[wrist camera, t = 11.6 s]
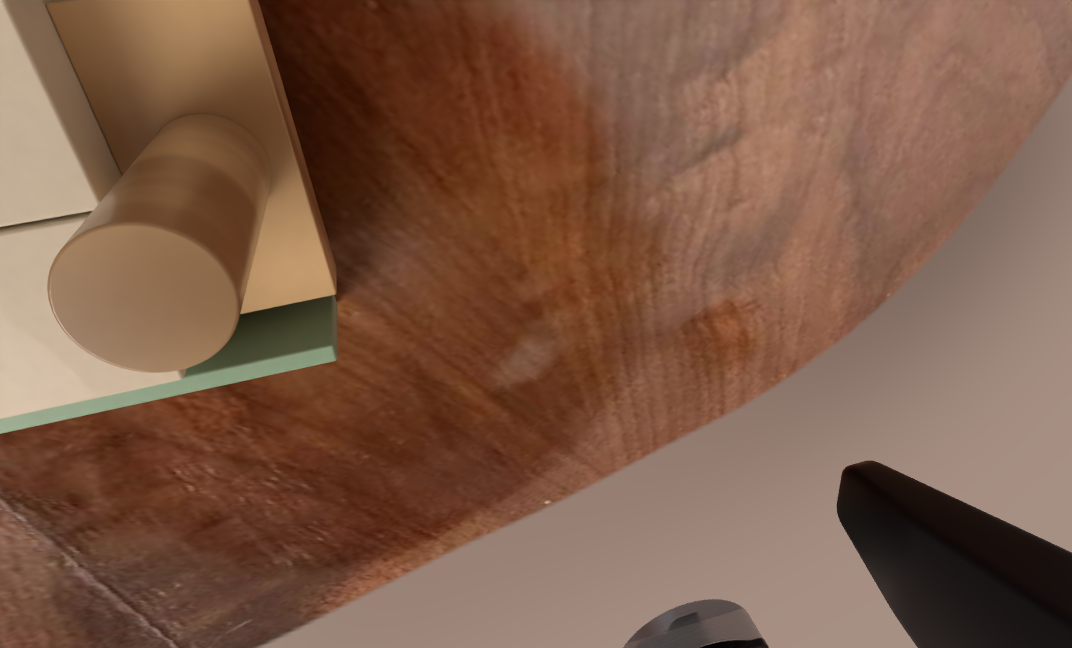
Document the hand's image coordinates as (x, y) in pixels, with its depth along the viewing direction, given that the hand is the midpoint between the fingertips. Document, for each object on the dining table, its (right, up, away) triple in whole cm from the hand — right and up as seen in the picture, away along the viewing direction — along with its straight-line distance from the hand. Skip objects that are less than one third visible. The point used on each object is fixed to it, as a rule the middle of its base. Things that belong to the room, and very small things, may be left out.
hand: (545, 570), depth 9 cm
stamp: (-8, +8, +7) cm, 13 cm away
